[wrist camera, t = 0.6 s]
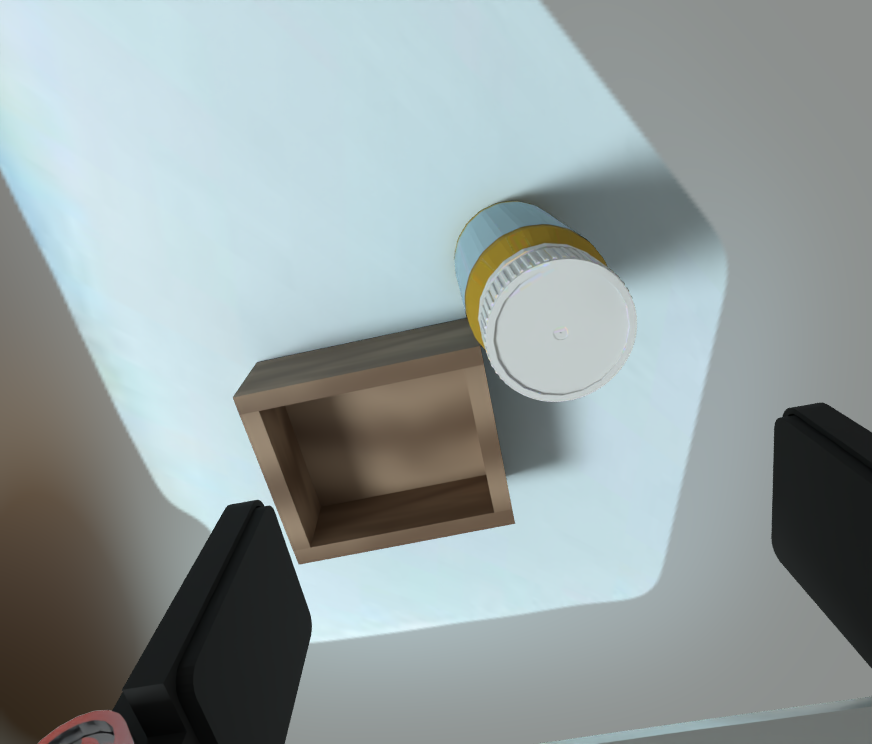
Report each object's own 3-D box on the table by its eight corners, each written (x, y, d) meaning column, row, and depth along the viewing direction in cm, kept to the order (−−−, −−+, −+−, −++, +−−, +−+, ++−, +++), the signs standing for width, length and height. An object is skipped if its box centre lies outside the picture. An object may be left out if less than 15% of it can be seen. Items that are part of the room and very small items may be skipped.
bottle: (576, 212, 36) (675, 267, 22) (544, 317, 38) (614, 424, 25) (467, 188, 35) (499, 228, 21) (443, 297, 38) (457, 395, 24)
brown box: (256, 362, 39) (232, 397, 34) (472, 316, 38) (480, 345, 33) (312, 514, 44) (298, 564, 39) (503, 477, 43) (514, 523, 38)
